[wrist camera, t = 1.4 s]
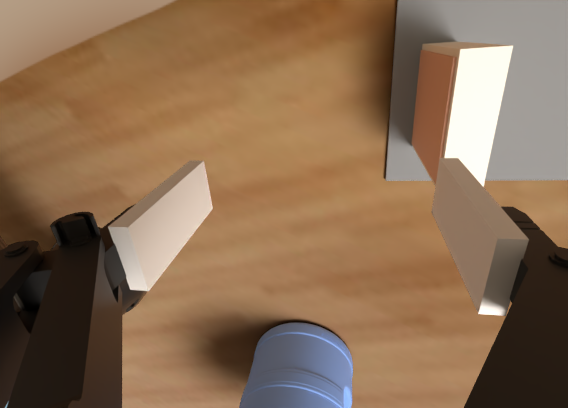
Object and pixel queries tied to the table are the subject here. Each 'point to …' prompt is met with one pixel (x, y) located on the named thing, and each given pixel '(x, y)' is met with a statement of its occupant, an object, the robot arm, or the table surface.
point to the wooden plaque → (459, 103)
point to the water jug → (299, 370)
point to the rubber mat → (517, 92)
